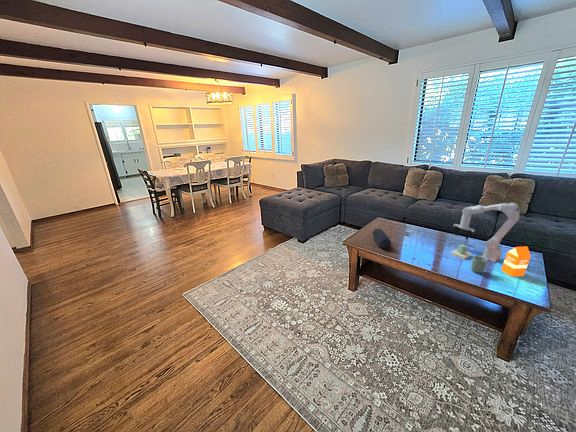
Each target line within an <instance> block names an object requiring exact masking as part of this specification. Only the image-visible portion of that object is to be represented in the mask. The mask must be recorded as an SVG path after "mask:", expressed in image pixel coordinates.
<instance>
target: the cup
mask: <svg viewBox="0 0 576 432" xmlns="http://www.w3.org/2000/svg"><path fill="white" fill-rule="evenodd" d="M471 260H472V261H471V264H470V265H471V266H470V267H471V271H473V272H474V273H477V274H481V273H484V271H485V270H486V268H487V264H488V261H489V260H488V259H486V258H484V257H481V255H475V256H473V257H472V259H471Z"/></svg>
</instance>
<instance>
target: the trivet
mask: <svg viewBox="0 0 576 432" xmlns="http://www.w3.org/2000/svg"><path fill="white" fill-rule="evenodd" d="M450 255H452V256H455V257H457V258H460V259H462V260H466V259H468V258H470V257H472V255H473V254H472V253H471V252H469V251H466V254H460V253H458V252H457V248H456V249H453V250H452V251H450Z"/></svg>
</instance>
